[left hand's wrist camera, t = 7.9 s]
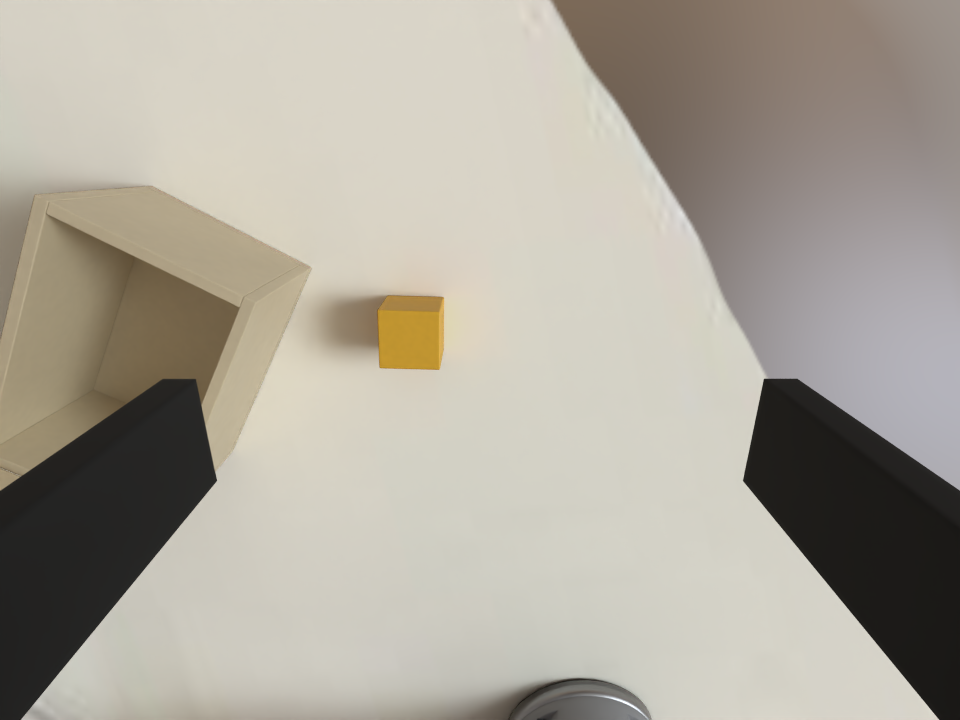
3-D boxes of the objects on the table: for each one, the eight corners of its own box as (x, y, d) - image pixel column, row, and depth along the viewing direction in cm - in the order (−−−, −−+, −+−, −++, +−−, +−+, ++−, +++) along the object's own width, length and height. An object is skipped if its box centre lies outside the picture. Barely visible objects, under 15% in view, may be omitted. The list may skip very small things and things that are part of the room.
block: (387, 295, 39) (377, 310, 35) (444, 296, 39) (439, 311, 35) (389, 348, 40) (379, 368, 37) (443, 350, 41) (439, 370, 37)
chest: (151, 185, 36) (33, 193, 27) (312, 267, 38) (256, 302, 29) (88, 389, 42) (-28, 456, 32) (232, 451, 44) (163, 533, 34)
